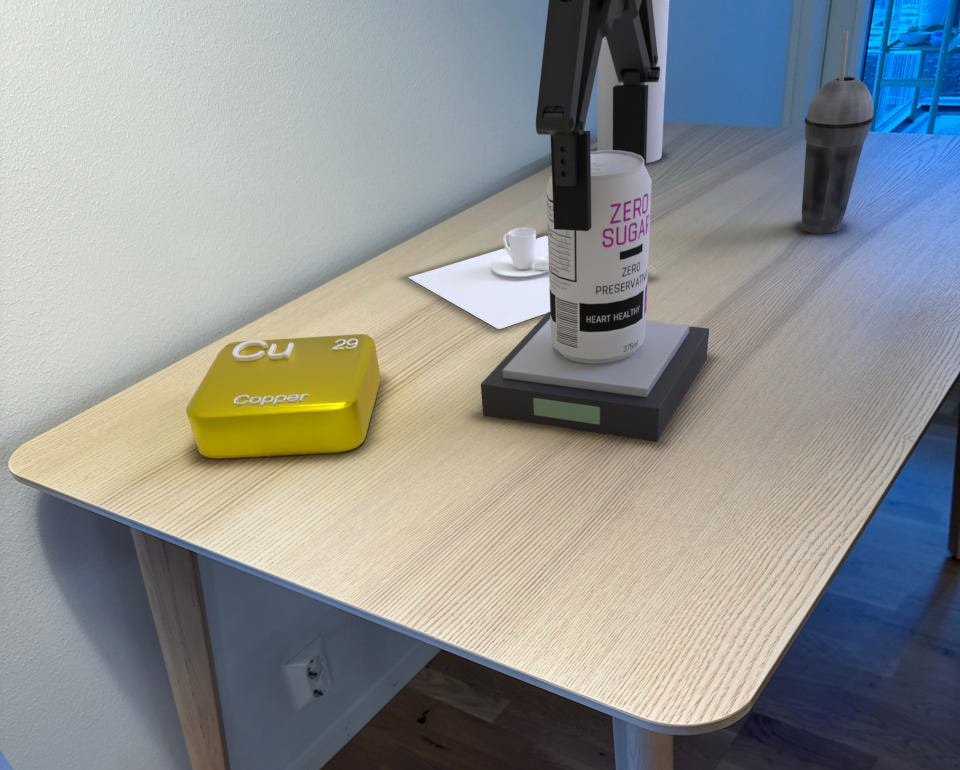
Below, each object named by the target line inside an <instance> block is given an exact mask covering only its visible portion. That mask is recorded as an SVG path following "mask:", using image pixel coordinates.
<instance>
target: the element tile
mask: <svg viewBox="0 0 960 770" xmlns="http://www.w3.org/2000/svg"><path fill="white" fill-rule="evenodd" d="M378 359H379V358H378V354H377V347H376V342H375V340H374V339H373V337H372V336H370V335H369V334H364V333H357V334H342V335H339V334H338V335H325V336H307V337H292V338H290V337H289V338H276V339H274V338H273V339H262V340H261V339H259V340H258V339H256V340H255V339H254V340H246V341H245V340H242V341H233V342H230V343H227V344H226V345H225V346H224V347H223V348H221V349H220V351H218V353H217V355H216V356H215V358H214V360H213V361H212V363H211V365H210V367H209V368H208V369H207V372H206V373H205V375H204V377H203V379H202V380H201V382H200V384H199V386H198V387H197V389H196V390H195V392H194V394H193V396H191V399H190V401H189V402H188V405H187V406H186V409H185V413H186V416H187V419H188V422H189V425H190V428H191V432H192V434H193V437H194V440H195V443H196V446H197V449H198V452H199V454H200V455H202V457H204V458H209V459H215V460H216V459H217V460H219V459H221V460H222V459H237V458H238V459H239V458H240V459H241V458H257V457H258V458H259V457H260V458H261V457H278V456H296V455H297V456H298V455H299V456H300V455H318V454H319V455H320V454H336V453H344V452H349V451H352V450H354V449H356V448H359V447H360V446H361V445H362V443H363V442H364V441H365V439H366V436H367V434H368V429H369V425H370V421H371V418H372V414H373V411H374V406H375V404H376V403H375V402H376V400H377V395H378V392H379V388H380V384H381V382H382V381H381V380H382V377H381V372H380V366H379V360H378Z"/></svg>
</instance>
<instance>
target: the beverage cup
mask: <svg viewBox="0 0 960 770" xmlns="http://www.w3.org/2000/svg"><path fill="white" fill-rule="evenodd" d="M848 41H849V30H843V32H842V42H841V52H840V53H841V54H840V63H839V73H838V74H839V75H838V77H834V78H833V79H831V80H829V81H828V82H826V83H825V84H823V85H822V86H821V87H820V88H819V89H818V90H817V92H816V93H815V94H814V96H813V98H811V100H810V103H809V106H808V109H807V112H806V116H805V117H804V123H805V126H804V133H805V134H804V137H805V138H804V139H805V154H804V171H803V185H802V187H803V188H802V199H801V200H802V203H801V226H800V227H801V229H802V230H803V231H804V232H807V233H810V234H811V233H812V234H831V233H836V232H838V231H839V230H841V228H842V224H843V221H844V217H845V214H846V212H847V208H848V204H849V200H850V196H851V193H852V189H853V185H854V181H855V178H856V174H857V170H858V166H859V162H860V159H861V155H862V151H863V147H864V144H865V141H866V140H867V137H868V134H869V132H870V129H871V124H872V123H873V121H874V102H873V97H872V93H871V91H870V89H869V88H868V86H867V85H866V83H864V82H863V81H862V80H860V79H859V78H857V77H854V76H845V72H846V64H847V63H846V60H847V52H848Z"/></svg>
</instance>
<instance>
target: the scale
mask: <svg viewBox="0 0 960 770" xmlns="http://www.w3.org/2000/svg"><path fill="white" fill-rule="evenodd" d="M709 336H710V328H709V327H698V326H692V325H691V326H690V324H685V323H674V322H666V321H665V322H664V321H656V320H655V321H654V320H646V325H645V338H644V341H643V344H642V345H641V346H639V347H638V348H637V349H636V351H635V352H634V353H632V354H631V355H630V356H628V357H626V358H624V359H621V360H619V361H614V362H609V363H599V364H588V363H581V362H576V361H573V360H570V359H567V358H565V357H564V356H563V355H561V354H560V352H559V351H558V350H557V349H555V348H554V347H553V344H552V341H551V320H550V312H548V313H546V314H544V316H543V317H542V318H541V319H540V320H539V321H538V322H537V323H536V324H535V325H534V326H533V327H532V329H531V330H530V331H528V333H527V334H526V335H525V336H524V337H523V338H522V339H521V340H520V341H519V342H518V343H517V344H516V346H515V347H514V348H513V349H512V350H511V351H510V352H509V353H508V354H507V355H506V356H505V357H504V358H503V360H502V361H501V362H500V363H499V364H498V365H497V366H496V367H495V368H494V369H493V370H492V371H491V372H490V373H489V375H488V376H486V378H484V380H482V382H481V383H480V392H481V394H480V395H481V405H482V415H484V416H489V417H495V418H502V419H508V420H514V421H521V422H529V423H535V424H541V425H548V426H554V427H561V428H567V429H573V430H574V429H575V430H580V431H581V430H582V431H587V432H592V433H593V432H594V433H600V434H607V435H613V436H620V437H626V438H632V439H633V438H634V439H640V440H647V441H653V442H658V441H659V439H660V437H661V435H662V434H663V432H664V431H665V429H666V427H667V426H668V424H669V422H670V420H671V419H672V418H673V415H674V414H675V412H676V411H677V409H678V408H679V405H680V404H681V402H682V400H683V399H684V397H685V396H686V394H687V392H688V390H689V388H691V385H692V384H693V382H694V381H695V379H696V377H697V375H698V374H699V372H700V370H701V368H702V367H703V366H704V364H705V362H706V360H707V358H708V348H709V338H710V337H709Z"/></svg>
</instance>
